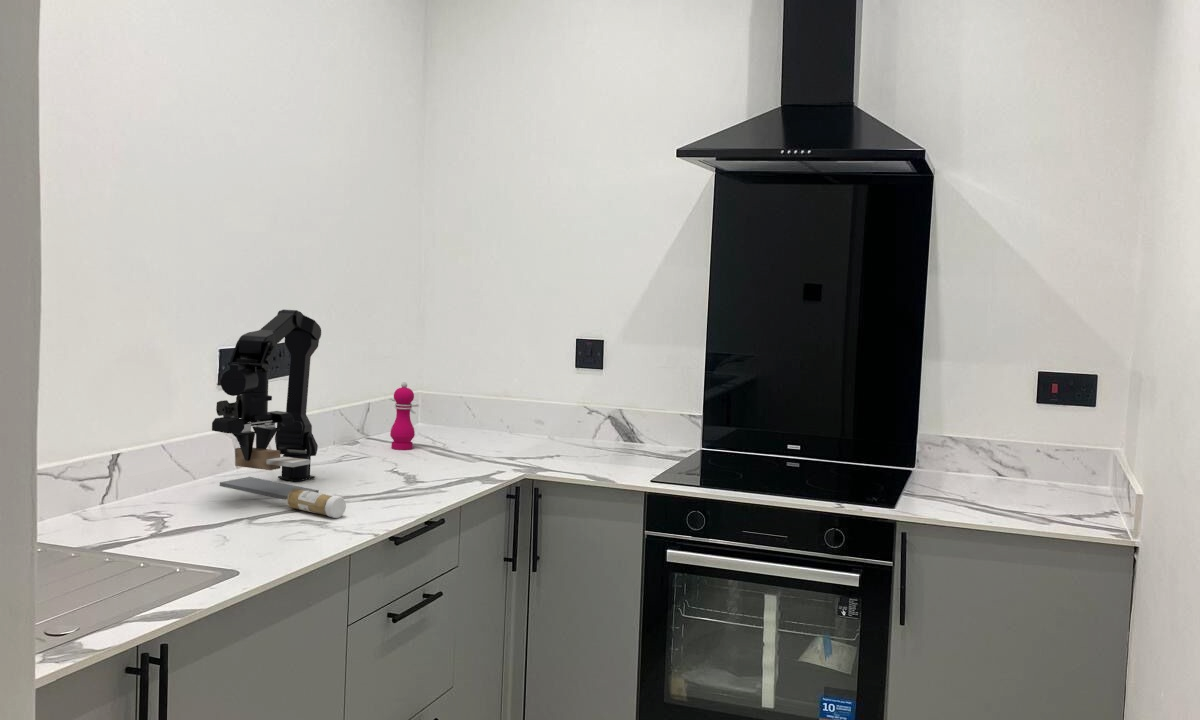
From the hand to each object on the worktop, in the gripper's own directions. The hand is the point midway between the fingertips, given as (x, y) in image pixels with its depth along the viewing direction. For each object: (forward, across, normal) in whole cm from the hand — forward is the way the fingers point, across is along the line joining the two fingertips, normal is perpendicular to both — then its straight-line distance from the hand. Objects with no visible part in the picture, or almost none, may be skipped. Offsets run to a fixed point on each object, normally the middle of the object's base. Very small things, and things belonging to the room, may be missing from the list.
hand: (253, 459), depth 223 cm
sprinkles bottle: (+7, 0, +13) cm, 15 cm away
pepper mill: (+9, -74, -19) cm, 77 cm away
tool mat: (+9, -9, -4) cm, 13 cm away
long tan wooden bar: (+1, 0, +6) cm, 6 cm away
